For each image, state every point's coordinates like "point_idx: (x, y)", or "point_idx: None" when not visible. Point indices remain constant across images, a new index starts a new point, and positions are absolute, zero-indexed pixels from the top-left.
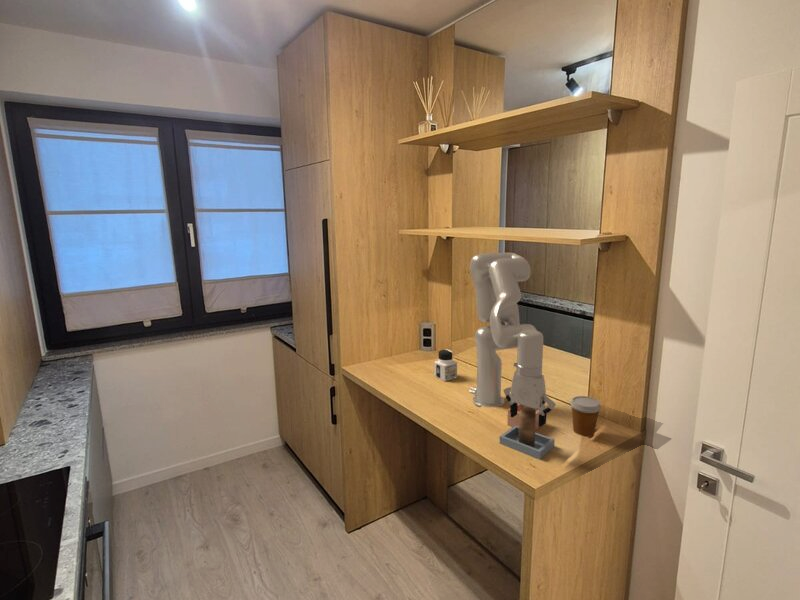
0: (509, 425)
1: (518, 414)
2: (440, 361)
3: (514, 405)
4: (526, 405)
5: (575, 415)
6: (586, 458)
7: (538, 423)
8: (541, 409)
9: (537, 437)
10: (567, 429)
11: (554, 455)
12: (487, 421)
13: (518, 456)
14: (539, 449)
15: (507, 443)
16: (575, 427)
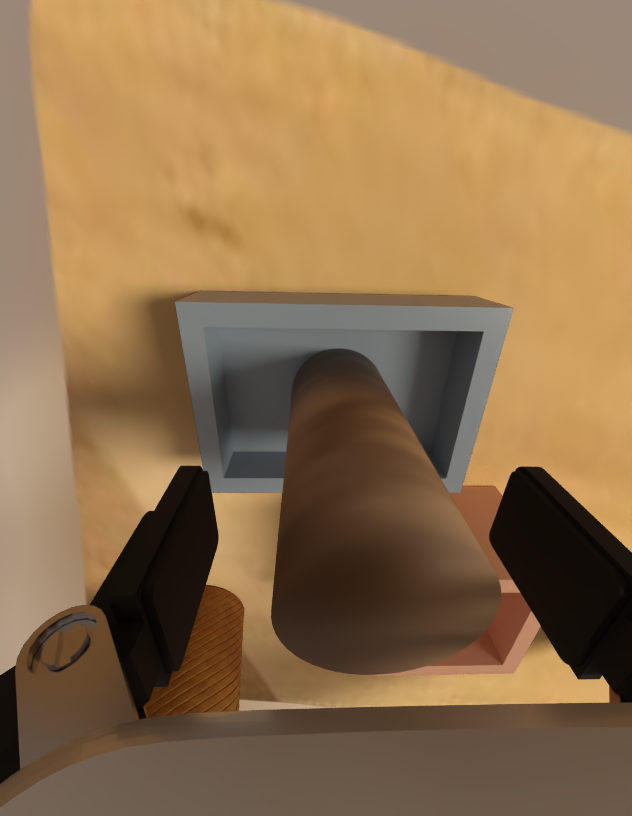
0: (491, 498)
1: None
2: None
3: (607, 622)
4: (380, 757)
5: (193, 698)
6: (78, 475)
7: (196, 488)
8: (27, 754)
9: None
10: (269, 603)
11: (189, 410)
12: (608, 479)
13: (328, 266)
14: (198, 332)
15: (432, 300)
16: (214, 623)
